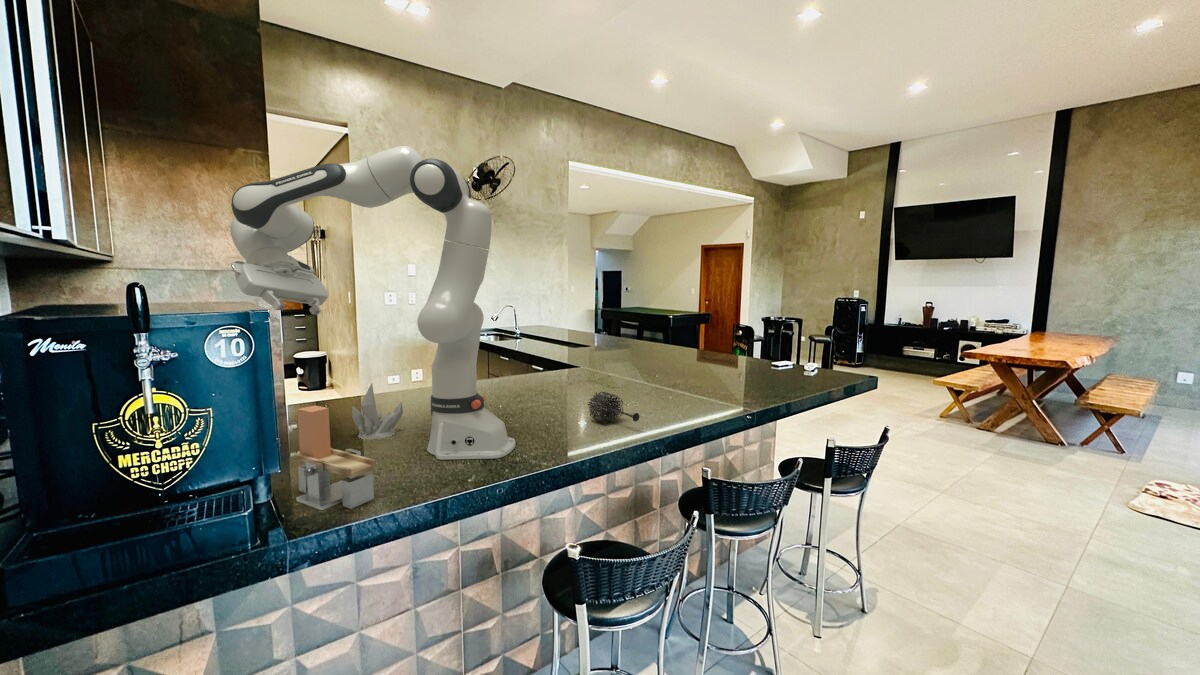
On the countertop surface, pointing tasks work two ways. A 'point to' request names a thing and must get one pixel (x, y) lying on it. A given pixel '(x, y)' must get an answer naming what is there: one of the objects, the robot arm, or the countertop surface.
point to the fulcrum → (333, 487)
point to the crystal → (374, 419)
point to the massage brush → (611, 409)
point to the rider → (314, 432)
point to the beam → (341, 463)
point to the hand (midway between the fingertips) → (299, 310)
